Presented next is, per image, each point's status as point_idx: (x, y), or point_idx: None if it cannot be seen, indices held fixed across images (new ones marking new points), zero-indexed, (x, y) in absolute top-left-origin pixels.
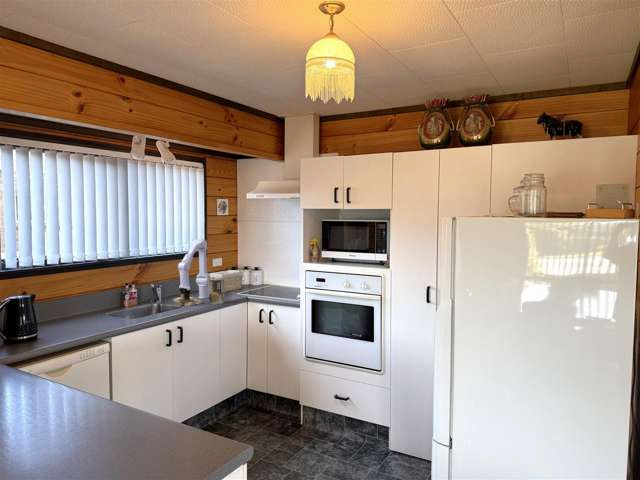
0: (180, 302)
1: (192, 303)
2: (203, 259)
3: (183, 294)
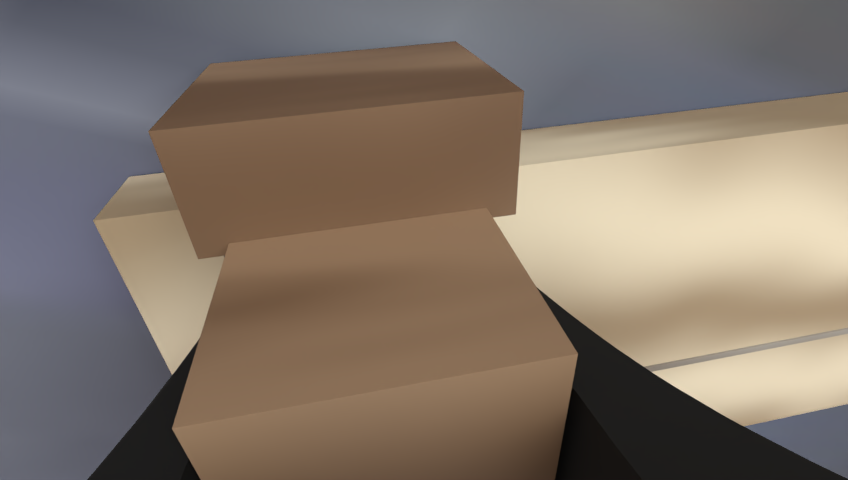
0: (249, 85)
1: None
2: None
3: (295, 455)
